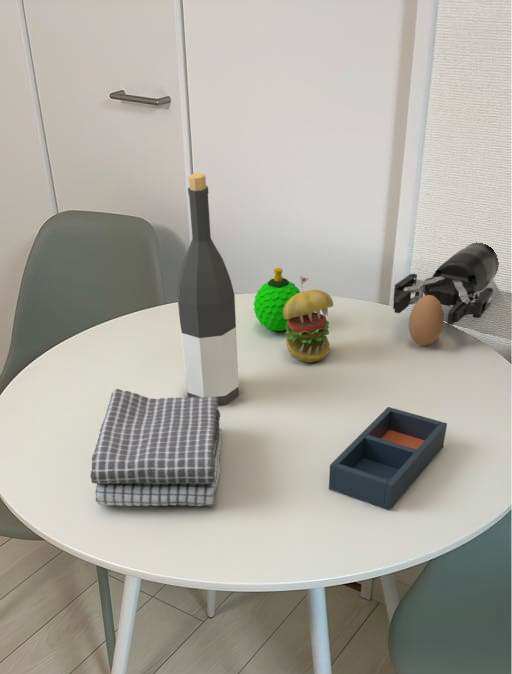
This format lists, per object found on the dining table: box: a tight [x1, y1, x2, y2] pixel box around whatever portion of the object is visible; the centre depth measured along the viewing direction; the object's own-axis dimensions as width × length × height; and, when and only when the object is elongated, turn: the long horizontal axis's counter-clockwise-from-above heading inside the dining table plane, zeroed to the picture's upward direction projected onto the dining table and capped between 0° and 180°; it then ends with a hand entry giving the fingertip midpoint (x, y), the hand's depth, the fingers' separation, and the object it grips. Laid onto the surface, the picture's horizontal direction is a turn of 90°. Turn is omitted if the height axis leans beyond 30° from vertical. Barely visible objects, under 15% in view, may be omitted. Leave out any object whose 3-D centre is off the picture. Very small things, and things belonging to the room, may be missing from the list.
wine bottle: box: [176, 172, 240, 407], centre depth 101 cm, size 8×8×30 cm
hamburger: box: [283, 275, 334, 363], centre depth 114 cm, size 8×7×12 cm
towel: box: [90, 388, 223, 507], centre depth 94 cm, size 15×18×8 cm
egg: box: [408, 295, 445, 347], centre depth 116 cm, size 5×5×8 cm
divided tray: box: [328, 406, 448, 511], centre depth 93 cm, size 8×15×4 cm, turn 144°
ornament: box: [253, 267, 301, 332], centre depth 123 cm, size 8×8×10 cm
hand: (423, 312), depth 113 cm, fingers open, 8 cm apart
